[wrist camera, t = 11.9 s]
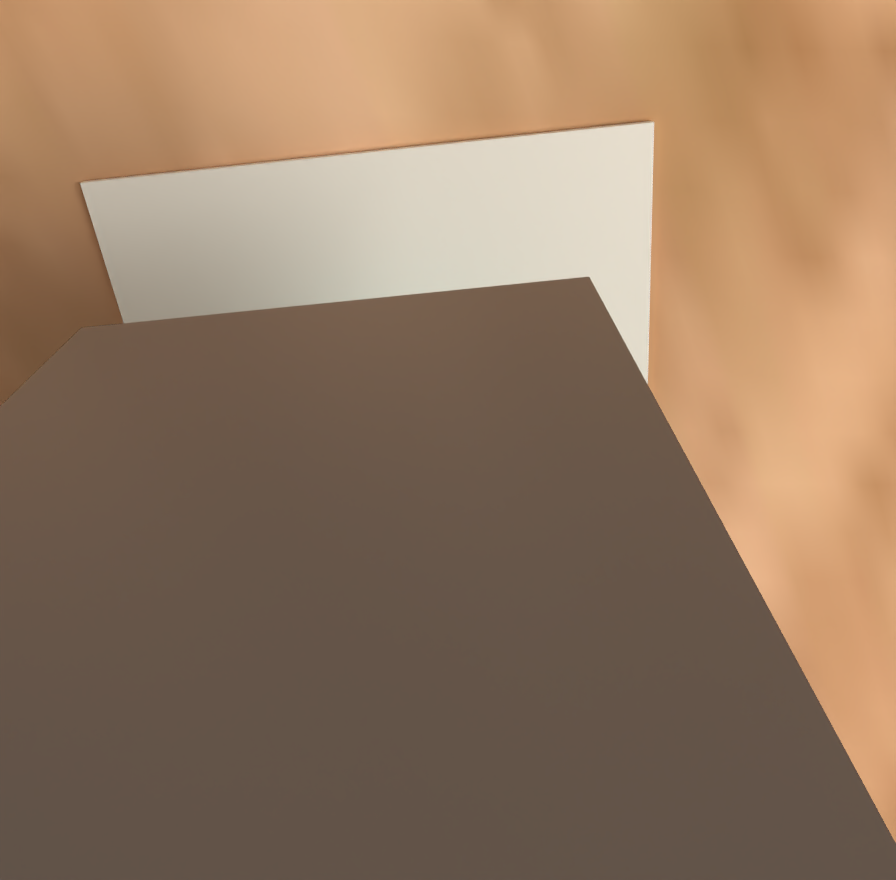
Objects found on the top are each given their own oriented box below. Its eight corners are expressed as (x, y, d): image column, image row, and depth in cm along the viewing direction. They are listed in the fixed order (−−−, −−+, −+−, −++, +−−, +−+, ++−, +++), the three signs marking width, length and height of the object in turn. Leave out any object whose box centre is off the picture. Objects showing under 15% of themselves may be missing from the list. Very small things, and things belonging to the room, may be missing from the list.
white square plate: (83, 181, 17) (79, 183, 17) (651, 121, 17) (654, 122, 17) (217, 613, 23) (215, 618, 23) (641, 576, 23) (642, 580, 22)
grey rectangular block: (80, 327, 11) (-763, 1145, 3) (589, 276, 11) (994, 1024, 3) (254, 836, 16) (91, 1608, 8) (597, 808, 16) (750, 1577, 8)
